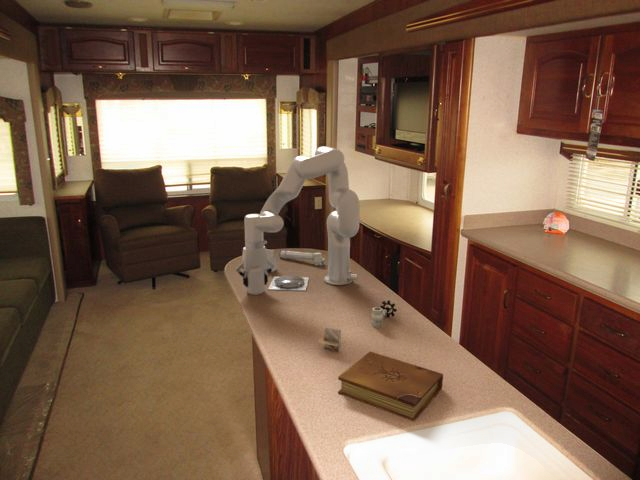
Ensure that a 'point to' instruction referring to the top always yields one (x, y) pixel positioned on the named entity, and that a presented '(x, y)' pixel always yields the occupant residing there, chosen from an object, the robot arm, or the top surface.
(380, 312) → the valve
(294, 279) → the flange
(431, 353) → the top surface
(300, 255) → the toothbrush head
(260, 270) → the can
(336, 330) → the architectural model
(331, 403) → the top surface
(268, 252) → the tea bag
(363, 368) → the diary
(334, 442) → the top surface
